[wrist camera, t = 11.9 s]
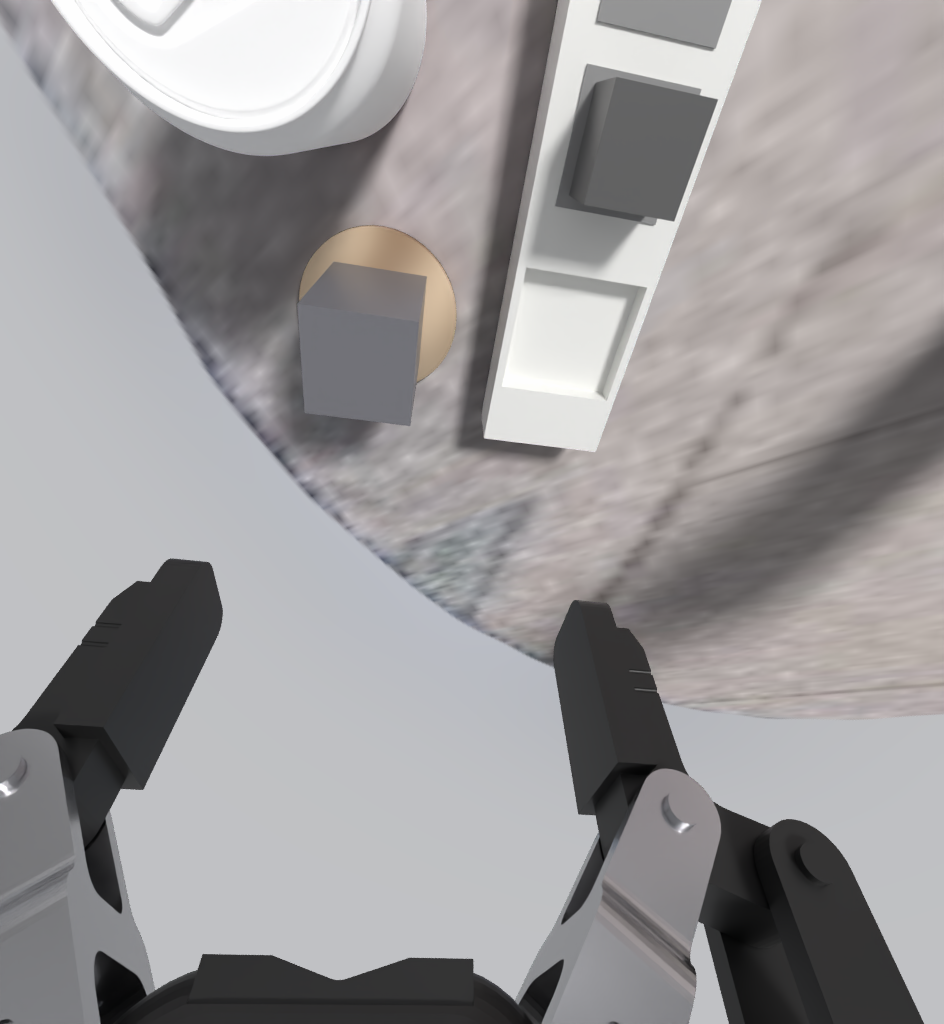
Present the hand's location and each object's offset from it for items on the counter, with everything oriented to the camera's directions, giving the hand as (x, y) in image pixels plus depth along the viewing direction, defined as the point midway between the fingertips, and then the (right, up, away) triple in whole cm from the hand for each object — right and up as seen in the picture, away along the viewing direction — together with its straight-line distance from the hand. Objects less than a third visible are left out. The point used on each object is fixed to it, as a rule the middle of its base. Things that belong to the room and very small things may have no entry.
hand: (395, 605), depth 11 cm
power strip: (+8, +18, +11) cm, 22 cm away
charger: (-3, +12, +14) cm, 19 cm away
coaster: (-3, +13, +14) cm, 19 cm away
